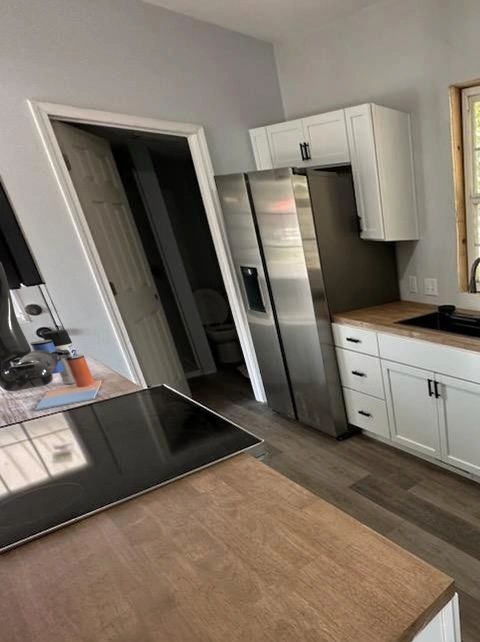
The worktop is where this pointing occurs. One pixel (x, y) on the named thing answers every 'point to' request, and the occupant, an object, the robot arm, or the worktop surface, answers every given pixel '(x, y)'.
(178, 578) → the worktop surface
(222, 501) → the worktop surface
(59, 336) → the spray can
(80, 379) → the terracotta canister
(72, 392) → the sorting board
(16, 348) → the robot arm
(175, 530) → the worktop surface
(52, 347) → the blue canister
